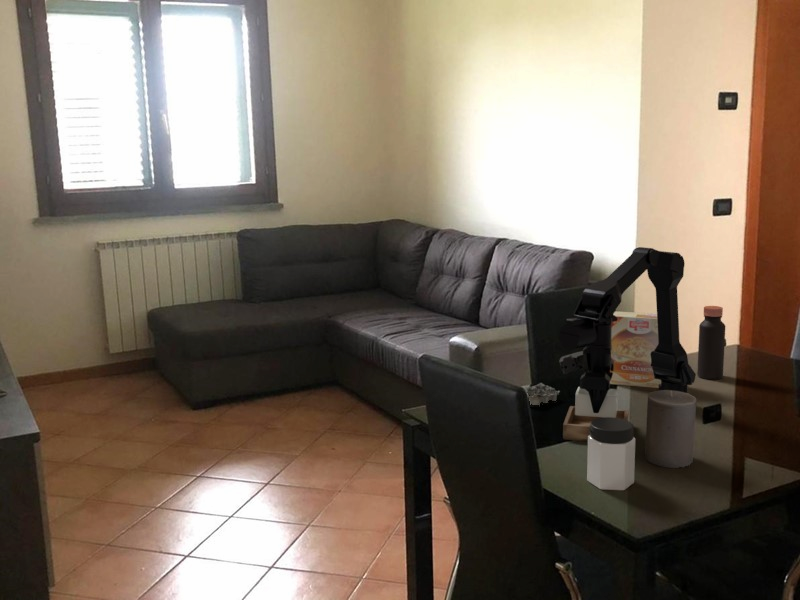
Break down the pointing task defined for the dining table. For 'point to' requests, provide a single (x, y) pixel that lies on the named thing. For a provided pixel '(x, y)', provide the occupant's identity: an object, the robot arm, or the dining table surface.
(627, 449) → the jar
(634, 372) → the coffeecake box
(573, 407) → the walnut crate
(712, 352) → the bottle
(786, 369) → the dining table surface
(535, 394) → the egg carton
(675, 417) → the pillar candle
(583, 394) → the grey crate
